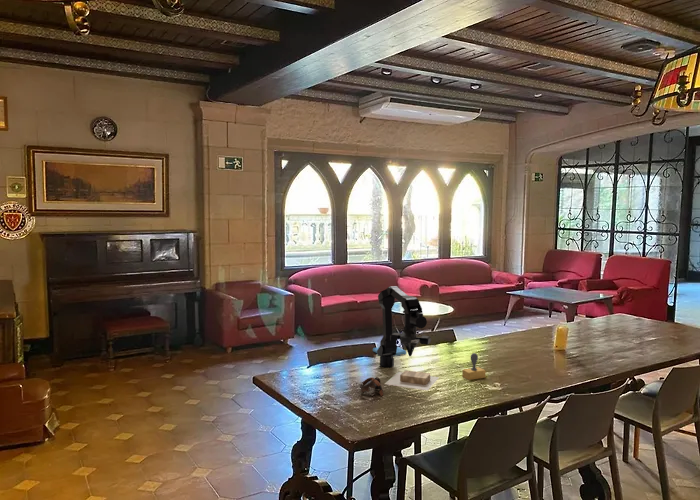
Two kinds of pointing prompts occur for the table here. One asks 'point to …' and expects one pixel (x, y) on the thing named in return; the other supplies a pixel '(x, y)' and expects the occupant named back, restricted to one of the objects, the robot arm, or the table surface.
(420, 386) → the grey rubber mat
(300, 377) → the table surface
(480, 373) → the rubber stamp
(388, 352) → the robot arm
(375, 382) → the brown arched piece
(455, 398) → the table surface
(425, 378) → the oak tile
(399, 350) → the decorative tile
